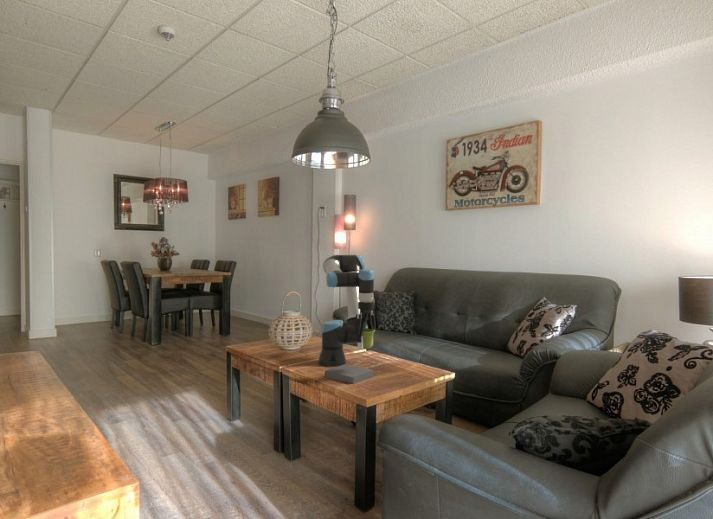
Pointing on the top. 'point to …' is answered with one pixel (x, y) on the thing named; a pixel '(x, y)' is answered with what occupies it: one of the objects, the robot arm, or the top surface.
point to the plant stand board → (349, 373)
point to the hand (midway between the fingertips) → (365, 346)
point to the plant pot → (367, 337)
